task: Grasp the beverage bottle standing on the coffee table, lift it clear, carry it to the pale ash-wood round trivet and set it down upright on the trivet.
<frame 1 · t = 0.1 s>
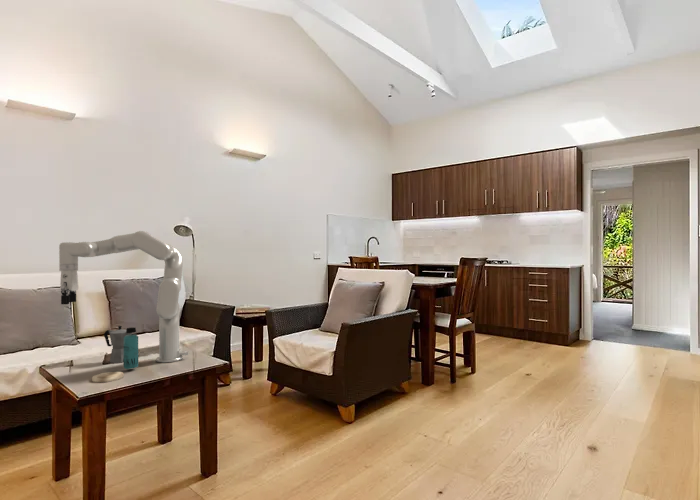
hand: (68, 303, 200), 31 cm above the table, tool pointing down, fingers open, 9 cm apart
beverage bottle: (131, 370, 195), on the table
coffeepot: (118, 361, 212), on the table
trivet: (108, 378, 182), on the table
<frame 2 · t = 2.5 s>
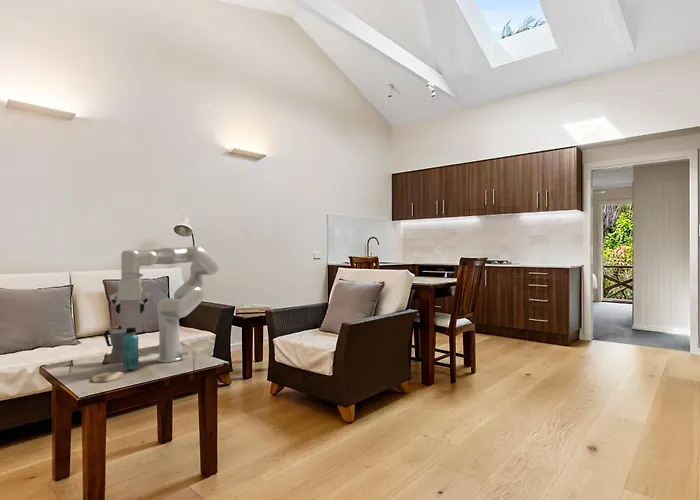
hand: (130, 312, 195), 27 cm above the table, tool pointing down, fingers open, 9 cm apart
nothing on the table moved.
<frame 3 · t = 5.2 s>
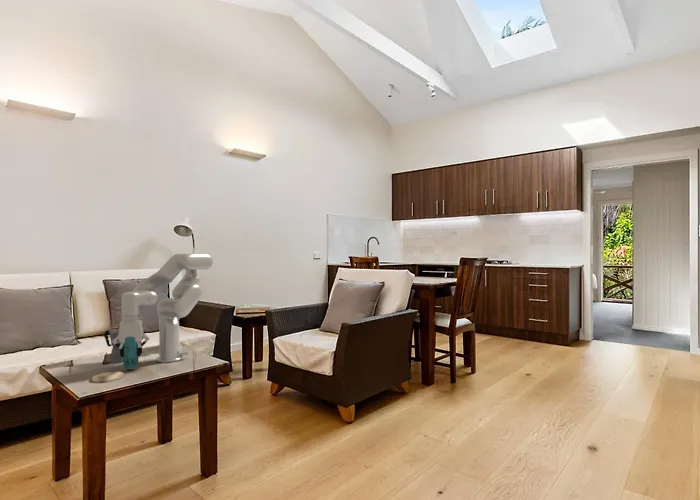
hand: (131, 355, 195), 7 cm above the table, tool pointing down, fingers closed on beverage bottle, 6 cm apart
beverage bottle: (131, 370, 195), on the table, touching gripper
everything else where it was.
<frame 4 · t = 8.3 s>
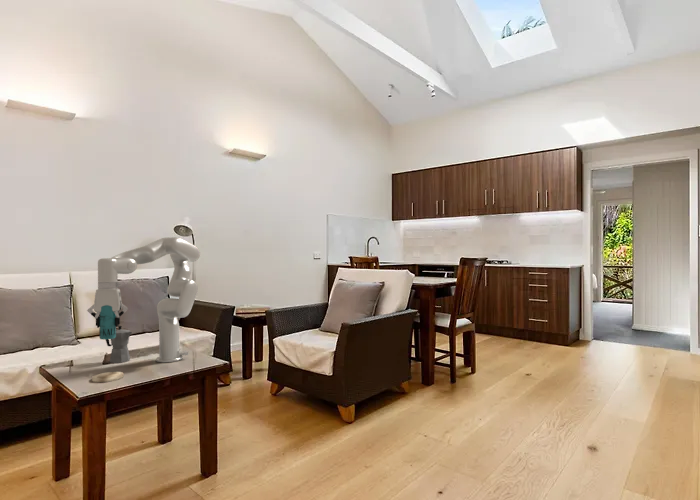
hand: (108, 326, 182), 23 cm above the table, tool pointing down, fingers closed on beverage bottle, 6 cm apart
beverage bottle: (107, 341, 182), point 16 cm above the table, touching gripper
everything else where it was.
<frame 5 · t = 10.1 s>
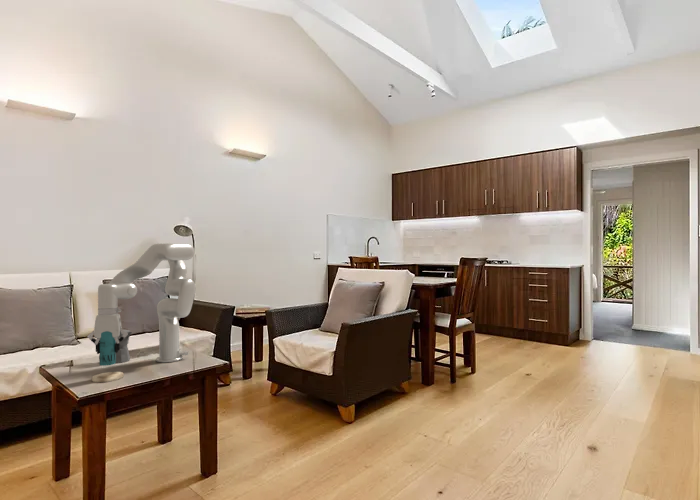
hand: (107, 352, 182), 11 cm above the table, tool pointing down, fingers closed on beverage bottle, 6 cm apart
beverage bottle: (107, 367, 182), point 5 cm above the table, touching gripper
everything else where it was.
when the fingers open (9 cm above the table, at t = 11.6 s): beverage bottle moves 1 cm, resting on trivet.
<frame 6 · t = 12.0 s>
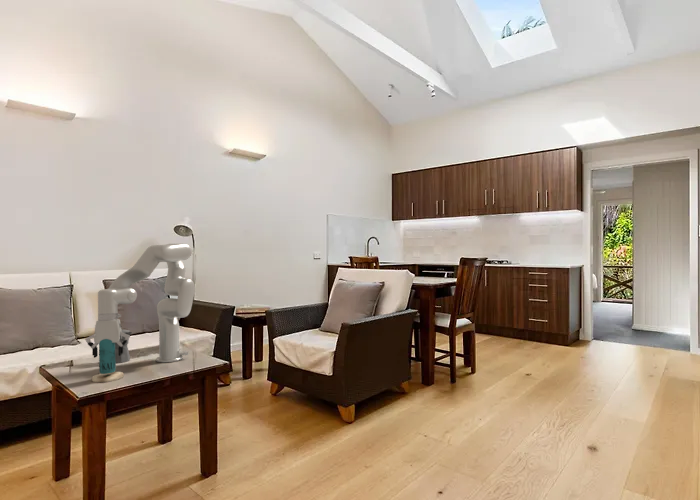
hand: (108, 356, 182), 10 cm above the table, tool pointing down, fingers open, 9 cm apart
beverage bottle: (107, 375, 182), point 1 cm above the table, touching trivet
everything else where it was.
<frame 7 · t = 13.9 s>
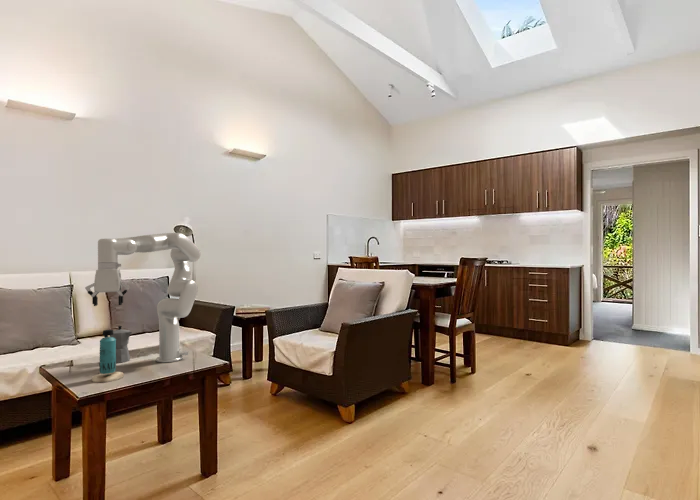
hand: (108, 305, 183), 32 cm above the table, tool pointing down, fingers open, 9 cm apart
nothing on the table moved.
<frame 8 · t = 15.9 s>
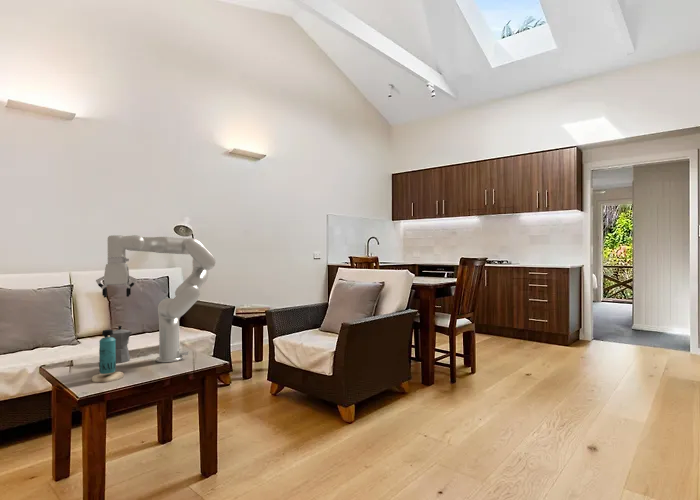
hand: (116, 296, 198), 34 cm above the table, tool pointing down, fingers open, 9 cm apart
nothing on the table moved.
at the end: beverage bottle inside the target area on the trivet (0.2 cm from its centre), point 1.1 cm above the trivet's base; beverage bottle tilted 0°; the gripper is holding nothing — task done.
